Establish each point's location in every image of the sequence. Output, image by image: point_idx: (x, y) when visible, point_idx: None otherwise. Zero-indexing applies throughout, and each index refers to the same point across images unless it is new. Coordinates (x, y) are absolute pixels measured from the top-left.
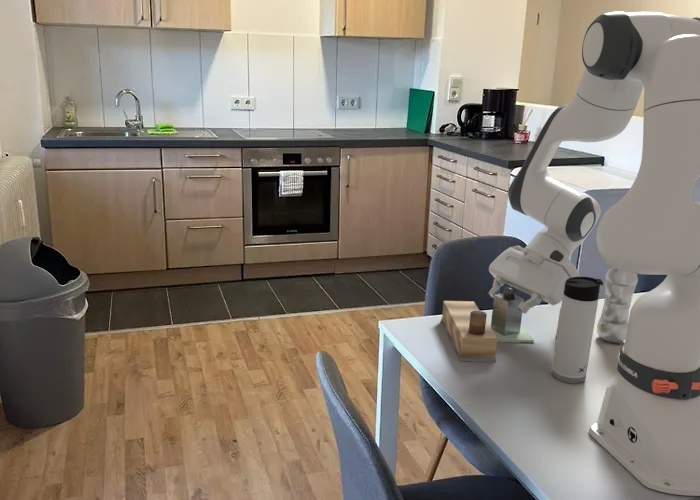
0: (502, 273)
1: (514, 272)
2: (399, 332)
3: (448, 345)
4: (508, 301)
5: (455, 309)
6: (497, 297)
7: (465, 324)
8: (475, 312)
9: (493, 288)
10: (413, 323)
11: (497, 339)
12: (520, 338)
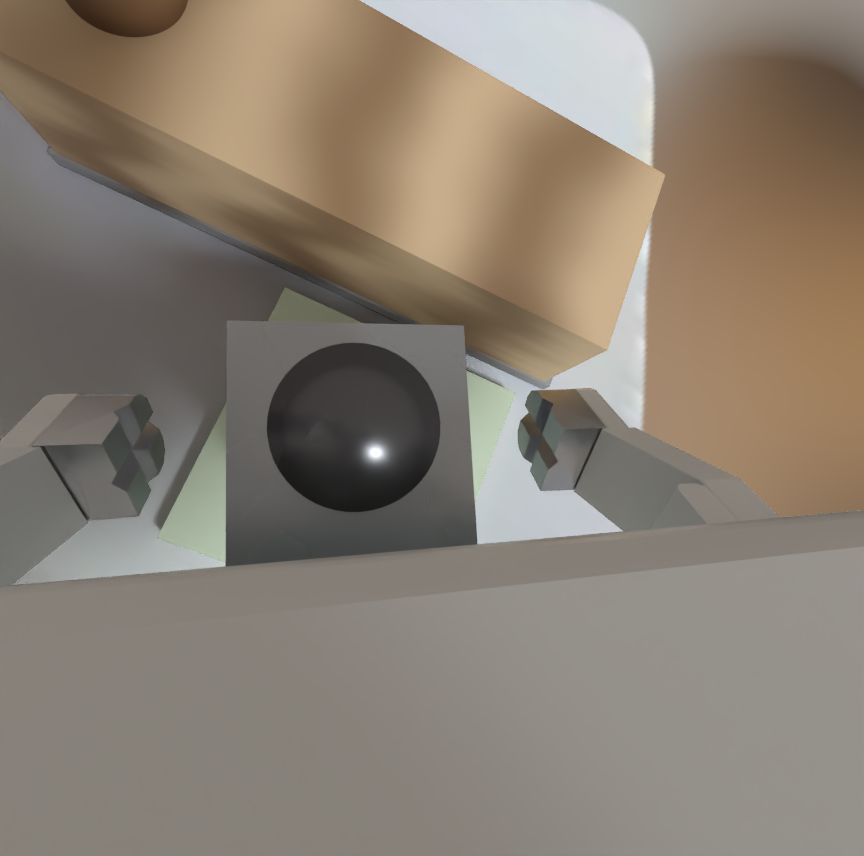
0: (771, 547)
1: (644, 722)
2: (534, 11)
3: None
4: (233, 331)
5: (521, 141)
6: (407, 327)
7: (275, 18)
8: None
9: (601, 420)
10: (599, 122)
11: None
12: (217, 470)
